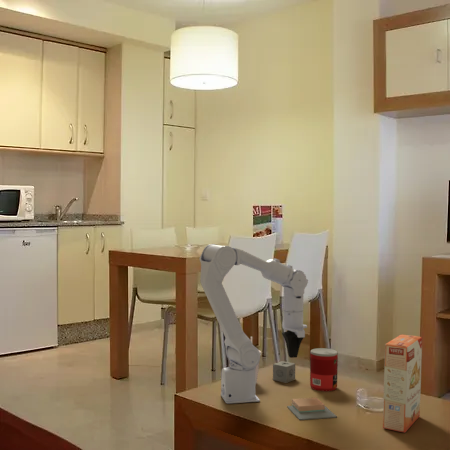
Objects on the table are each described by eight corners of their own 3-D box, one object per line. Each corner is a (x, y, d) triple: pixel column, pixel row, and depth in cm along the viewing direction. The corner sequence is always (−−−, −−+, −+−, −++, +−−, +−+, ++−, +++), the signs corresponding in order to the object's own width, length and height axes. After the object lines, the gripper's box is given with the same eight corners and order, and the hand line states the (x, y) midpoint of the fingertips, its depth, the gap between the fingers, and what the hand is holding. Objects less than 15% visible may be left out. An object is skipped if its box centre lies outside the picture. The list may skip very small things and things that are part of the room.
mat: (299, 420, 151) (299, 419, 151) (287, 407, 160) (287, 406, 160) (336, 417, 153) (336, 416, 153) (322, 404, 163) (322, 403, 163)
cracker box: (407, 434, 142) (408, 346, 141) (381, 429, 145) (383, 343, 144) (421, 416, 154) (423, 335, 153) (398, 412, 157) (399, 333, 156)
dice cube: (295, 379, 187) (295, 363, 186) (286, 383, 183) (286, 366, 182) (281, 376, 190) (281, 360, 189) (272, 380, 186) (273, 364, 186)
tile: (291, 404, 161) (299, 412, 155) (291, 399, 161) (299, 406, 155) (316, 403, 163) (324, 410, 157) (316, 397, 163) (324, 404, 157)
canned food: (339, 392, 174) (339, 354, 174) (311, 391, 174) (312, 354, 174) (335, 384, 182) (335, 348, 181) (308, 383, 182) (308, 347, 181)
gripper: (315, 314, 168) (314, 362, 168) (298, 306, 182) (297, 350, 182) (291, 315, 166) (290, 363, 167) (275, 306, 180) (275, 351, 181)
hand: (292, 357), depth 174 cm, fingers closed
